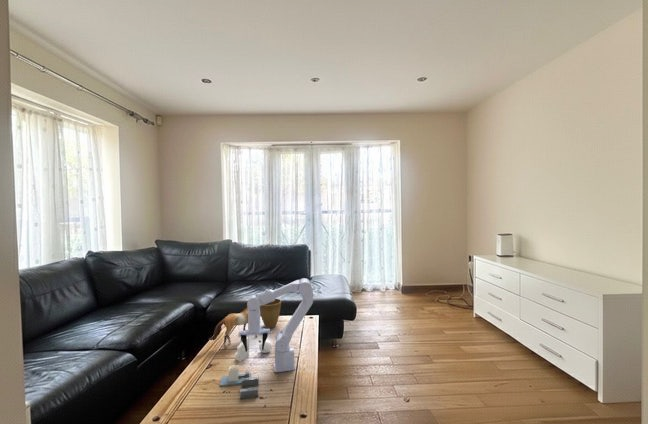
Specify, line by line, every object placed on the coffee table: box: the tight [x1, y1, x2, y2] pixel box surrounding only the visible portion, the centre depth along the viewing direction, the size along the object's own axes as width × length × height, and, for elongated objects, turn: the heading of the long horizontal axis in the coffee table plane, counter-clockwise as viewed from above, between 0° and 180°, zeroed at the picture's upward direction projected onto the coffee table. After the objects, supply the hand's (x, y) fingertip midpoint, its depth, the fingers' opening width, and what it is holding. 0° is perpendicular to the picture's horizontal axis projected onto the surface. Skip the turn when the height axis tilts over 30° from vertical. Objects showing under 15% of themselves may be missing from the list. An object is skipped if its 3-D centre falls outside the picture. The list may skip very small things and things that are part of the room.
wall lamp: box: [227, 364, 250, 382], centre depth 135 cm, size 9×4×5 cm, turn 99°
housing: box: [239, 376, 260, 400], centre depth 126 cm, size 7×10×3 cm
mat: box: [219, 372, 252, 388], centre depth 134 cm, size 13×7×1 cm, turn 101°
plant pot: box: [260, 298, 282, 329], centre depth 198 cm, size 15×15×16 cm
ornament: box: [258, 339, 273, 354], centre depth 161 cm, size 6×7×7 cm
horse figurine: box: [208, 306, 258, 350], centre depth 174 cm, size 31×8×21 cm, turn 134°
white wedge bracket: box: [234, 336, 250, 362], centre depth 155 cm, size 4×10×9 cm, turn 141°
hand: (254, 349), depth 143 cm, fingers open, 7 cm apart
